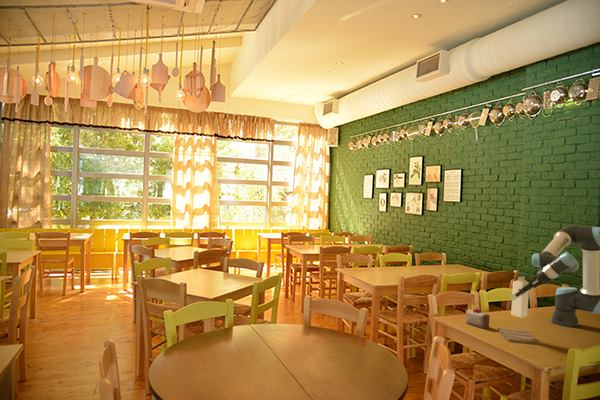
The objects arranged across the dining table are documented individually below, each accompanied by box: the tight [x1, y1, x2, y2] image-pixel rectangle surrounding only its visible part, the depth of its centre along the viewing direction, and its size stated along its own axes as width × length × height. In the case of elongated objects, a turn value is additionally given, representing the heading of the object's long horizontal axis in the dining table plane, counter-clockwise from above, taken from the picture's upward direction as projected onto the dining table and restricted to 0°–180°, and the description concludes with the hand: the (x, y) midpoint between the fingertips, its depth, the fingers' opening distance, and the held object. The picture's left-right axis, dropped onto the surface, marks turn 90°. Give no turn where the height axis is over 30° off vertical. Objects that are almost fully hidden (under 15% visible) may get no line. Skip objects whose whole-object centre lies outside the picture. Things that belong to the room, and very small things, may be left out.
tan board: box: [497, 327, 541, 346], centre depth 243 cm, size 20×16×2 cm
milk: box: [510, 276, 530, 319], centre depth 243 cm, size 6×6×22 cm
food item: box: [465, 308, 490, 329], centre depth 262 cm, size 14×8×10 cm, turn 31°
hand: (513, 297), depth 245 cm, fingers closed on milk, 8 cm apart
